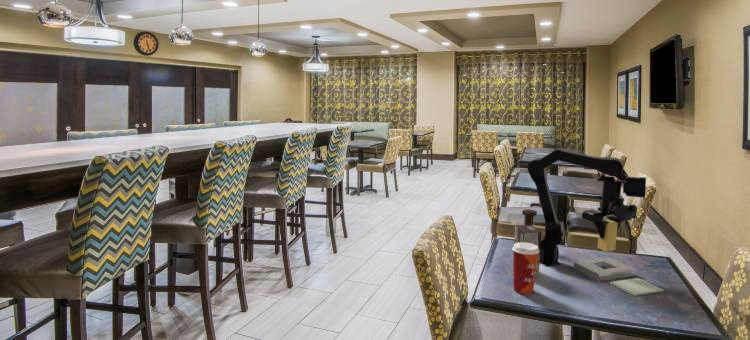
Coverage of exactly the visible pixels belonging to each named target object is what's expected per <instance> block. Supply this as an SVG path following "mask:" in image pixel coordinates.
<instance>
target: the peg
mask: <svg viewBox="0 0 750 340" xmlns="http://www.w3.org/2000/svg"><path fill="white" fill-rule="evenodd" d="M606 221H609V223H608V224H607V225H606V229H605V236H604V239H602V238H600V235H599V234H598V237H597V249H599V250H601V251H604V252H613V251H616V246H617V233H618V230H617V226H618V223H617V222H614V221H611V220H609V219H606Z"/></svg>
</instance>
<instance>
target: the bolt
mask: <svg viewBox="0 0 750 340" xmlns="http://www.w3.org/2000/svg"><path fill="white" fill-rule="evenodd" d="M521 215H524V225H532V226H533V225H534V219H535V218H534V217H536V216H537V215H538V214H537V211H536V210H534V209H530V208H528V209H523V210H522V212H521ZM533 227H534V226H533Z"/></svg>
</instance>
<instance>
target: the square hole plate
mask: <svg viewBox="0 0 750 340" xmlns="http://www.w3.org/2000/svg"><path fill="white" fill-rule="evenodd" d="M573 269H574V270H575V271H577V272H580V273H582V274H584V275H586V276H587V277H590V278H591V279H594V280H595V281H598V282H600V281H609V280H615V279H621V278H630V277H634V276H635V277H636V273H637V272H636V271H637V269H636V268H635V267H633V266H630V265H628V264H626V263H623V262H621V261H619V260H617V259H615V258H611V257H601V258H595V259H585V260H578V261H573Z"/></svg>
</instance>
